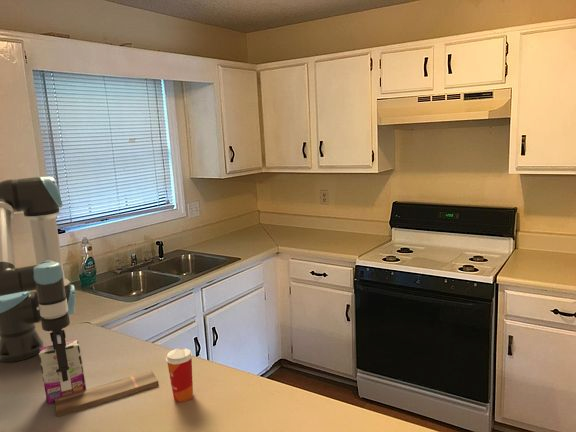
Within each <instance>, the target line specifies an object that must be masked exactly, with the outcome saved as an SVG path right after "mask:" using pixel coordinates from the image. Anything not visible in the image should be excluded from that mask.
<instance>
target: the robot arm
mask: <svg viewBox="0 0 576 432" xmlns="http://www.w3.org/2000/svg"><path fill="white" fill-rule="evenodd" d="M60 208H63V201H62V198H61V194H60V191H59V188H58V184H57V181H56V179H55V178H54V177H53V176H35V177H25V178H24V177H23V178H17V179H16V178H14V179H5V180H1V181H0V362H3V363H15V362H20V361H23V360H28V359H29V358H32V357H35V356H36V355H39V350H40V348H43V347H45V345H44V341H43V339H42V338H41V337H42V336H40V333H39V332H38V331H37V329H36V324H37V323H41V327H42V330H43V331H44V332H50V333H49V335H50V341H51V342H52V345H53V348H54V350H56V355H57V361H58V367H59V369H57V370H56V373H57V372H59V377H60V384H61V390H62V391H66V390H69V389H72V387H71V380H70V373H69V366H68V362H67V356H66V350H65V347H66V342H67V341H66V337H67V335H66V332H65V329H64V328H67V327H68V326H69V325H70V323H71V321H70V317H71V316H72V315H74V313H75V311H76V287H75V285H74V284H71V281H70V280H69V279H67V278H66V277H65V272H64V264H63V257H62V252H61V251H62V250H61V245H60V244H61V243H60V238H59V232H58V230H59V229H58V224H57V223H58V222H57V216H58V215H59V213H60ZM21 212H23V216H24V218H26V219H28V220H29V224H30V225H29V226H30V230H31V237H32V244H33V250H34V257H35V262H36V264H33V265H29V266H21V267H16V261H15V260H16V259H15V258H16V257H15V251H14V250H15V247H14V237H13V223H12V218H13V217H14V214H15V213H21ZM31 291H32V292H31ZM62 366H63V367H62Z"/></svg>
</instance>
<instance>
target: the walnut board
mask: <svg viewBox="0 0 576 432" xmlns="http://www.w3.org/2000/svg"><path fill="white" fill-rule="evenodd" d="M157 386H160V385H159V380H158V378H157V377H156V374H155V373H154V372H153V370H149V371H145V372H142V373H138V374H135V375H131V376H128V377H124V378H121V379H118V380H115V381H111V382H108V383H107V382H106V383H105V384H101V385H97V386H95V387H90V388H86V390H83V391H80V392H77V393H73V394H70V395H66V396H63V397H60V398H56V399H55V402H54V405H55V410H56V411H55V413H56V417H57V418H58V417H62V416H64V415H67V414H71V413H74V412H77V411H80V410H85V409H87V408H91V407H93V406H96V405H100V404H104V403H106V402H109V401H113V400H116V399H119V398H122V397H125V396H129V395H132V394H135V393H138V392H141V391H145V390H147V389H151V388H155V387H157Z"/></svg>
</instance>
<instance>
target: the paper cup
mask: <svg viewBox="0 0 576 432" xmlns="http://www.w3.org/2000/svg"><path fill="white" fill-rule="evenodd" d="M192 359H193V353H192V352H191V350H190V349H189V348H186V347H185V348H175V349H173V350H170V351H168V353H167V355H166V357H165V361H166V363H167V368H168V373H169V379H170V386H171V390H172V394H173V399H174V401H175V402H176V403H177V402H178V403H183V402H185V403H186V402H187V401H189V400H191V399H192V398H193V395H194V393H193V392H194V391H193V390H194V389H193V388H194V387H193V386H194V385H193V382H194V381H193V362H192Z"/></svg>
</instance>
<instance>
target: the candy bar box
mask: <svg viewBox="0 0 576 432" xmlns="http://www.w3.org/2000/svg"><path fill="white" fill-rule="evenodd" d="M80 346H81V345H80V340H79V339H75V340H70V341H66V347H65V350H66V356H67V362H68V366H69V373H70V380H71V387H72V389H69V390H66V391H62V390H61V384H60V377H59V372H57V373H56V370H57V369H59V367H58V361H57V355H56V350H54V348H53V344H52V345H49V346H48V345H47V346H44V347H43V348H40V350H39V353H38V358H39V364H40V371H41V375H42V382H43V386H44V387H43V388H44V391H45V399H46V403H47V404H48V405H50V404H53V403H54V404H55V399H56V398H60V397H63V396H66V395H70V394H73V393H77V392H80V391H83V390H87V382H86V377H85V370H84V366H83V364H84V363H83V358H82V353H81V347H80ZM62 367H63V366H62Z"/></svg>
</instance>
